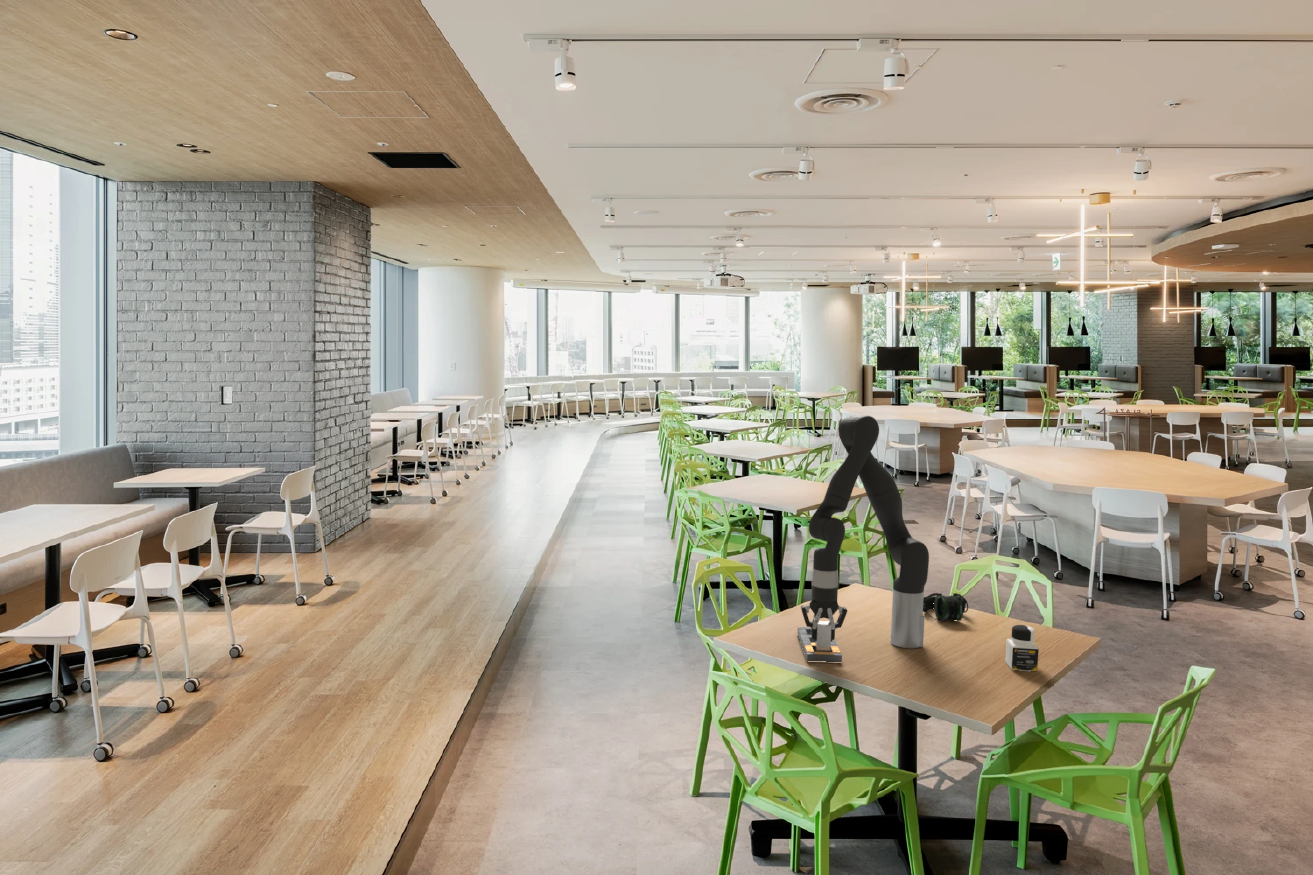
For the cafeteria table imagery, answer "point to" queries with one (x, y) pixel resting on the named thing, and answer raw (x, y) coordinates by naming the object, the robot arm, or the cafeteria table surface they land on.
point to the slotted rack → (809, 647)
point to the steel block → (823, 637)
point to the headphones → (945, 606)
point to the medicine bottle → (1022, 649)
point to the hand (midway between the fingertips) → (822, 640)
